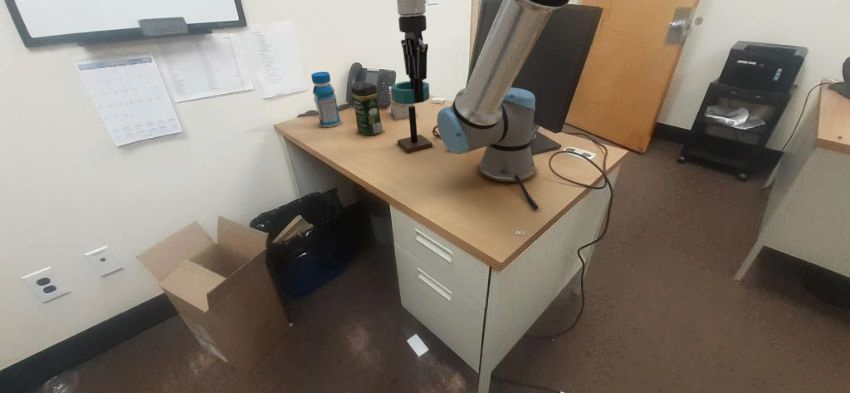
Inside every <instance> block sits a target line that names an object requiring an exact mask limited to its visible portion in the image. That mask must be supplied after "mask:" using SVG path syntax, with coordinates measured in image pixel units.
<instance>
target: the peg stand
mask: <svg viewBox="0 0 850 393" xmlns="http://www.w3.org/2000/svg"><path fill="white" fill-rule="evenodd" d="M408 109H409V118H408V119H409V120H408V121H409V131H410V132H409V133H410V134H409V135H410V136H408V137H405V138H400V139H397V142H396V143H397V145H398V146H399V147H401V148H402V150H404V151H405V152H406V153H408V154H409V153H410V154H411V153H414V152H418V151H422V150H426V149H429V148H433V142H432V141H430V140H429V139H427V137H425V136H423V135H422V134H418V126H417V115H416V114H417V112H416V106H415V105H414V106H409V107H408Z"/></svg>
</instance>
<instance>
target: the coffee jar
mask: <svg viewBox="0 0 850 393" xmlns="http://www.w3.org/2000/svg"><path fill="white" fill-rule="evenodd" d="M350 89H351V90H350V92H351V96H352V97H351V98H352V100H353V106H354V113H355V120H356V128H357V131H358V133H360V134H362V135H364V136H366V137H367V136H368V137H369V136H376V135H379V134H380V133H381V132H382V131H383V125H382V120H381V115H380V114H381V113H380V108H379V101H378V94H379V92H378V89H377V85H376V84H374V83H371V82H367V81H364V80H358V81H354V82H353V83H352V84H351V86H350Z"/></svg>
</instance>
